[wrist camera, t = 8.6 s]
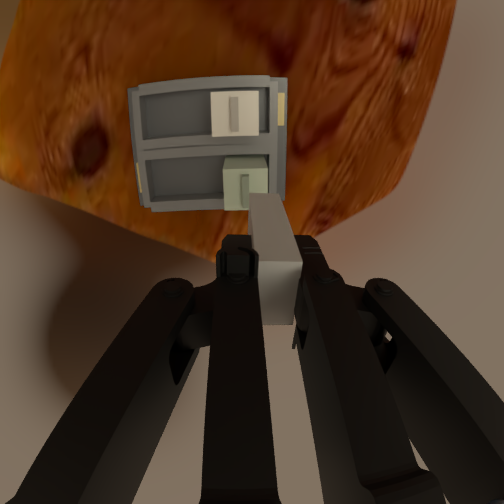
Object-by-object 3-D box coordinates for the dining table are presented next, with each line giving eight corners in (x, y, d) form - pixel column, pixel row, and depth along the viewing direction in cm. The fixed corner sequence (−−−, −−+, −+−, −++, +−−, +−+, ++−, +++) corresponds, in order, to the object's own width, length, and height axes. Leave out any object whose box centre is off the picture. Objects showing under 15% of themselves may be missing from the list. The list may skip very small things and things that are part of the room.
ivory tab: (216, 91, 27) (209, 92, 22) (255, 90, 28) (259, 90, 22) (217, 128, 30) (211, 138, 24) (255, 127, 30) (259, 137, 24)
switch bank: (130, 87, 27) (120, 88, 25) (285, 77, 28) (290, 76, 25) (142, 203, 35) (135, 213, 32) (283, 198, 35) (287, 207, 33)
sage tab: (225, 155, 31) (222, 171, 25) (263, 154, 31) (268, 170, 25) (227, 189, 33) (224, 214, 27) (263, 188, 33) (268, 212, 27)
